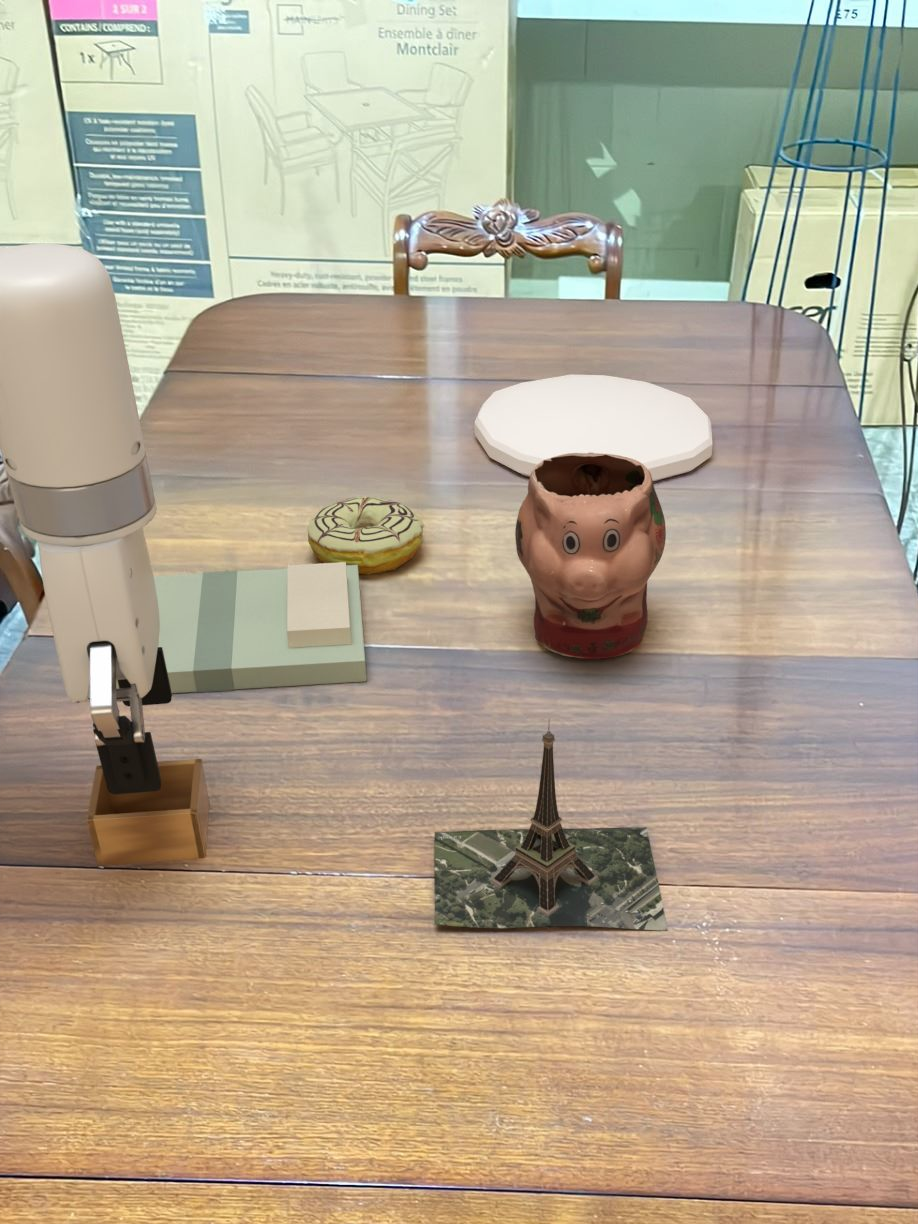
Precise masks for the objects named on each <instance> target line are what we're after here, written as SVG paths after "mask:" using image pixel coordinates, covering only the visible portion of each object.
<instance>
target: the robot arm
mask: <svg viewBox="0 0 918 1224" xmlns="http://www.w3.org/2000/svg"><path fill="white" fill-rule="evenodd" d="M132 379H133V378H132V375H131V369H130V364H129V359H128V355H127V350H126V344H125V339H124V335H123V329H122V324H121V320H120V314H119V308H118V304H117V299H116V294H115V291H114V286H113V282H112V278H111V276H110V273H109V272H108V270H107V268H106V266H105V265H104V264H103V262H102V261H101V260H100V259H99V258H98V257H97V256H96V255H94V254H93V253H91V252H90V251H88V250H86V249H83V248H81V247H77V246H73V245H67V244H61V243H27V244H21V245H20V244H19V245H14V246H8V247H6V246H0V455H1V458H2V463H3V466H4V469H5V473H6V476H7V480H8V485H9V488H10V491H11V495H12V499H13V502H14V506H15V510H16V514H17V518H18V521H19V524H20V528H21V531H22V532H23V533H24V534H25V535H26V536H27V537H29V539H32V540H34V541H36V542H37V543H38V544H37V545H38V546H37V547H38V555H39V565H40V573H41V577H42V578H41V579H42V586H43V591H44V597H45V601H46V602H45V603H46V607H47V612H48V616H49V622H50V627H51V632H52V636H53V641H54V646H55V650H56V654H57V659H58V663H59V668H60V672H61V677H62V682H63V686H64V690H65V691H64V692H65V694H66V697H67V699H69V701H71V702H72V703H73V704H79V703H81V702H87V701H88V697H87V696H88V691H89V687H90V698H89V710H90V716H91V719H92V727H93V729H92V731H93V736H94V737H93V738H94V743H95V747H96V750H97V754H98V759H99V761H100V765H101V766H102V770H103V773H104V777H105V781H106V785H107V789H108V791H109V792H110V793H111V794H127V793H140V792H152V791H158V790H160V788H161V776H160V772H159V767H158V763H157V762H158V759H157V755H156V750H155V746H154V741H153V736H152V732H151V731H145V719H144V710H143V709H144V708H143V706H154V705H166V704H170V703H171V702H172V698H173V693H172V692H171V687H170V682H169V678H168V673H167V668H166V663H165V658H164V654H163V649H162V647H158V645H159V632H160V615H159V606H158V599H157V593H156V587H155V582H154V576H155V575H154V571H153V568H152V562H151V558H150V557H151V556H150V553H149V549H148V545H147V540H146V536H145V531H144V528H145V527H146V526H147V525H148V524H150V522H152V520H153V519H154V517H155V516H156V514H157V509H158V508H157V502H156V498H155V493H154V487H153V482H152V478H151V472H150V467H149V461H148V456H147V451H146V445H145V442H144V436H143V431H142V425H141V421H140V416H139V411H138V405H137V400H136V396H135V390H134V385H133V380H132ZM116 680H118V685H119V688H118V689H116ZM118 702H122V704H123V705H124V706H126V707H129V711H130V719H129V718H128V717H127V716H126V715H120V709H119V707H118V706H119V705H118Z"/></svg>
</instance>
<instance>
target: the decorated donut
mask: <svg viewBox="0 0 918 1224" xmlns="http://www.w3.org/2000/svg"><path fill="white" fill-rule="evenodd" d="M308 524H309V525H308V526H307V541H308V544H309V547H310V548H311V550H312V552H313V555H315V556H316V557H317V559H318V560H319V561H320V562H322V563H339V562H346V565H358V574H359V575H371V574H380V573H384V572H385V573H386V572H387V571H395V570H396V569H398V568H399V567H401V566H402V565H404V564H405V563H406V562H408V561H411V559H412V558H413V557H414V556H415V554H416V552H417V551H418V549H419V547H420V545H421V544H422V541H423V537H424V534H423V533H424V529H423V528H424V527H425V524H424V522H423V520H421V518H420V517H419V515H418V514H417V513H416V512H414V511H413V510H412V509H411V508H409V507H408V506H406V505H405V504H402V503H401V502H398V501H393V500H389V499H385V498H381V497H371V496H370V497H369V496H355V497H354V496H353V497H348V498H346V499H343V500H340V501H337V502H335V503H333V504H331V505H329V506H326V507H323V508H322V509H320V510H319V511H318V512H316V513H315V515H313V517H312V518H311V519H310V520H309V523H308Z"/></svg>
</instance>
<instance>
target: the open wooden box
mask: <svg viewBox="0 0 918 1224" xmlns="http://www.w3.org/2000/svg"><path fill="white" fill-rule="evenodd" d="M202 759H203V758H193V759H178V760H163V761H161V760H159V761H157V763H158V767H159V772H160V776H161V788H160V790H158V791H152V792H140V793H127V794H111V793H110V792H109V791H108V789H107V785H106V781H105V777H104V773H103V770H102V766H101V764H99V765H96V766H95V771H94V777H93V783H92V788H91V793H90V799H89V805H88V810H87V816H86V824H87V828H88V831H89V835H90V838H91V843H92V847H93V851H94V855H95V859H96V862H97V866H111V865H126V864H128V865H129V864H138V863H155V862H168V861H181V860H182V861H183V860H195V859H206V858H207V857H206V856H207V845H208V831H209V830H208V829H209V819H210V818H209V816H210V798H209V793H208V786H207V782H206V775H205V770H204V765H203V760H202Z"/></svg>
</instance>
